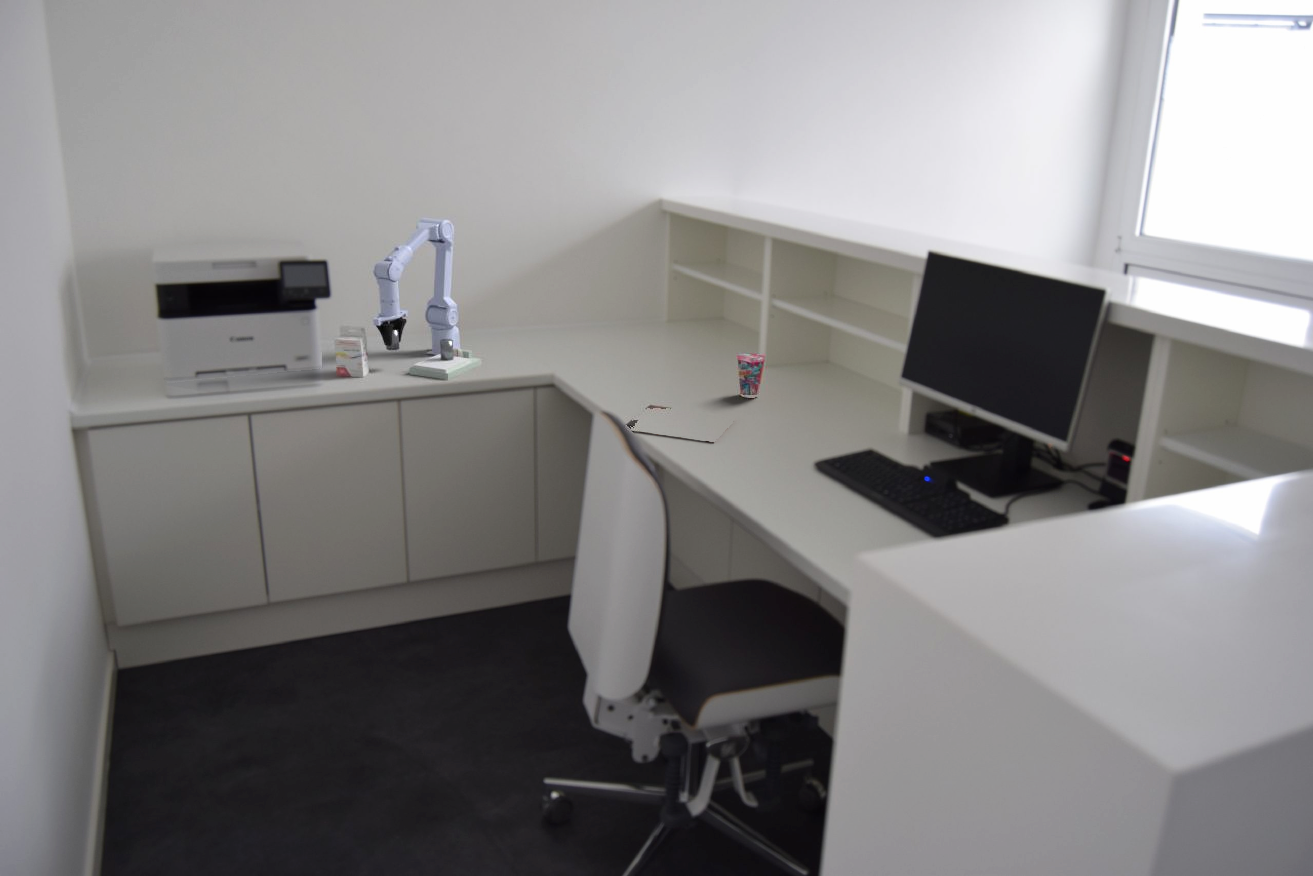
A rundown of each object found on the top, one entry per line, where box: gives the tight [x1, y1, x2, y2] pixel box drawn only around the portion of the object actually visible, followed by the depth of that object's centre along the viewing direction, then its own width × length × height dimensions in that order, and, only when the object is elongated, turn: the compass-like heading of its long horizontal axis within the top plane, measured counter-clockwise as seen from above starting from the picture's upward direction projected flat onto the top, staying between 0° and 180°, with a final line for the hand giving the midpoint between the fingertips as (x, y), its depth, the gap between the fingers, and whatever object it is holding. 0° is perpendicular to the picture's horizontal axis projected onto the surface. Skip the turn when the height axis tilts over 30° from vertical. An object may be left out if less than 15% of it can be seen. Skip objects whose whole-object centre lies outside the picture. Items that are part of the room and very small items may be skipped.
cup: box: [736, 352, 767, 395], centre depth 292 cm, size 9×8×12 cm
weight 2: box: [440, 339, 454, 361], centre depth 313 cm, size 4×4×6 cm
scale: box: [408, 348, 482, 381], centre depth 313 cm, size 19×14×5 cm
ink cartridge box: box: [334, 325, 370, 378], centre depth 304 cm, size 9×5×15 cm, turn 84°
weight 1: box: [385, 328, 400, 351], centre depth 309 cm, size 4×4×6 cm
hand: (392, 343), depth 309 cm, fingers closed on weight 1, 4 cm apart
